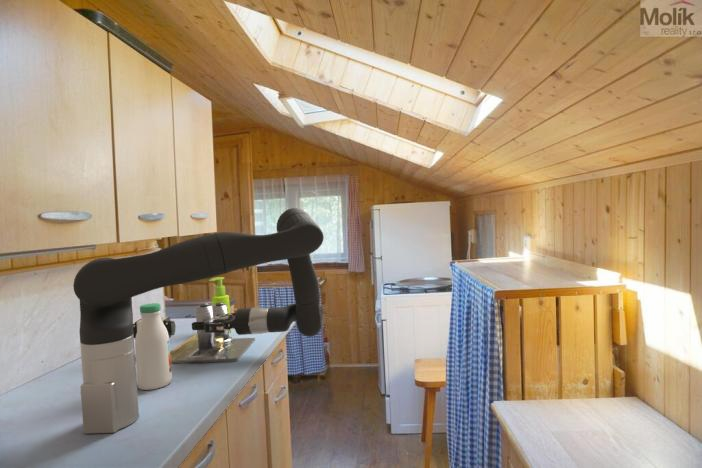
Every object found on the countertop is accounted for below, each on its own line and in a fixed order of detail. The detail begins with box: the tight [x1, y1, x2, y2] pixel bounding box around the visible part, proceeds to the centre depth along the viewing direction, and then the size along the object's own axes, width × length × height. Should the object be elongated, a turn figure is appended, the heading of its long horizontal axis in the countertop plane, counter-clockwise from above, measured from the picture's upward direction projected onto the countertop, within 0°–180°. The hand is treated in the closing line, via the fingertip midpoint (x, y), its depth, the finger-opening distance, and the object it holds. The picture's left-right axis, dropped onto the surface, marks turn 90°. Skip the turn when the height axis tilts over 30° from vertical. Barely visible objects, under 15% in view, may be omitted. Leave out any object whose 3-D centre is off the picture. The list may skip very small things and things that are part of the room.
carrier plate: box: [170, 302, 256, 364], centre depth 127 cm, size 21×20×14 cm
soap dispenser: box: [208, 276, 232, 334], centre depth 148 cm, size 6×7×20 cm
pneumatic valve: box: [133, 316, 176, 340], centre depth 126 cm, size 6×12×12 cm, turn 97°
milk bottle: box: [134, 302, 173, 391], centre depth 102 cm, size 8×8×20 cm
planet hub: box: [195, 302, 216, 350], centre depth 120 cm, size 5×5×13 cm
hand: (196, 323), depth 120 cm, fingers closed on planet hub, 4 cm apart
